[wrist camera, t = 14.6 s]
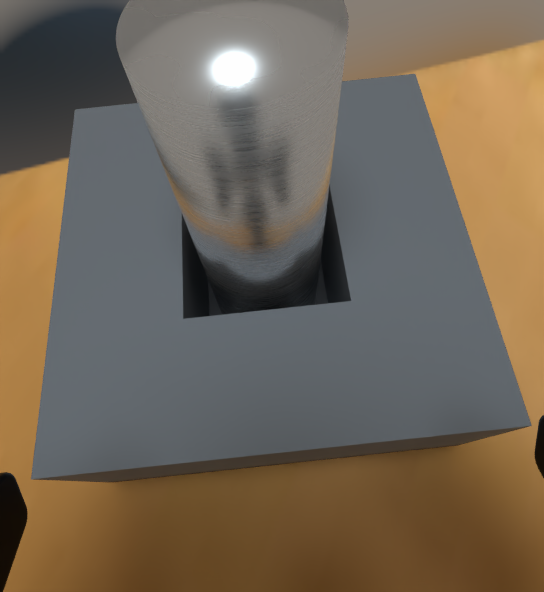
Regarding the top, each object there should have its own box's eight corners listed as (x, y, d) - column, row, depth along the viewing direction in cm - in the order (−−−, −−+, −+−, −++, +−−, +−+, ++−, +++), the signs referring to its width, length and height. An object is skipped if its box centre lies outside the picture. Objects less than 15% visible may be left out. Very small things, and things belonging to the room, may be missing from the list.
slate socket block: (457, 445, 16) (531, 425, 11) (111, 482, 16) (31, 479, 11) (386, 170, 22) (415, 73, 17) (125, 198, 22) (75, 109, 17)
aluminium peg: (334, 307, 18) (398, 28, 7) (257, 365, 17) (198, 147, 6) (276, 243, 20) (255, -72, 9) (202, 293, 19) (75, 14, 8)
